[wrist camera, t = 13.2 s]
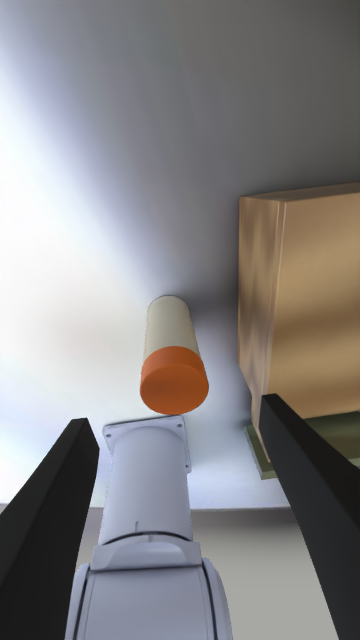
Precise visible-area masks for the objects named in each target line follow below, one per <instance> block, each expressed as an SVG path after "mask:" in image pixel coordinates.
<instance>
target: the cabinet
mask: <svg viewBox="0 0 360 640" xmlns="http://www.w3.org/2000/svg"><path fill="white" fill-rule="evenodd" d="M238 365H239V367H240V370H241V372H242V374H243V376H244V378H245V380H246V383H247V385H248V387H249V389H250V391H251V394H252V396H253V398H254V400H255V402H256V405H257V407H258V409H259V411H260V405H261V396H262V395H266V394H273V393H277V394H278V395H279V396H280V397H281V398H282V399H283V400H284V401H285V402H286V403H287V404H288V405H289V406H290V407H291V408H292V409H293V410H294V411H295V412H296V413H297V414H298V415H299V416H300V417H303V416H310V415H317V414H324V413H331V412H338V411H345V410H352V409H359V408H360V181H358V182H350V183H342V184H334V185H326V186H318V187H310V188H302V189H294V190H286V191H278V192H270V193H262V194H254V195H246V196H240V198H239V279H238Z"/></svg>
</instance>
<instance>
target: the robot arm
mask: <svg viewBox="0 0 360 640" xmlns="http://www.w3.org/2000/svg"><path fill="white" fill-rule="evenodd" d="M258 428H259V431H260V435H261V438H262V441H263V444H264V447H265V450H266V452H267V455H268V457H269V459H270V462H271V464H272V466H273V468H274V471H275V473H276V475H277V477H278V479H279V482H280V484H281V486H282V488H283V490H284V493H285V495H286V497H287V499H288V501H289V504H290V506H291V508H292V510H293V512H294V514H295V517H296V519H297V522H298V524H299V527H300V529H301V532H302V535H303V537H304V540H305V542H306V545H307V548H308V551H309V554H310V556H311V559H312V562H313V565H314V568H315V571H316V573H317V576H318V579H319V582H320V585H321V588H322V591H323V593H324V596H325V599H326V602H327V605H328V608H329V611H330V614H331V617H332V620H333V623H334V626H335V629H336V632H337V635H338V638H339V640H360V469H359V468H357V467H356V466H355V465H354V464H353V463H351V462H350V461H349V460H348V459H347V458H345V457H344V456H343V455H342V454H341V453H339V452H338V451H337V450H336V449H335V448H334V447H333V446H331V445H330V444H329V443H328V442H327V441H326V440H325V439H324V438H322V437H321V436H320V435H319V434H318V433H317V432H316V431H315V430H314V429H313V428H312V427H310V426H309V425H308V424H307V423H306V422H305V421H304V420H303V419H302V418H301V417H300V416H299V415H298V414H297V413H296V412H295V411H294V410H293V409H292V408H291V407H290V406H289V405H288V404H287V403H286V402H285V401H284V400H283V399H282V398H281V397H280V396H279V395H278V394H277V393H273V394H266V395H262V396H261V405H260V415H259V425H258ZM102 433H103V436H104V438H105V441H106V443H107V446H108V448H109V451H110V453H111V455H112V463H111V469H110V475H109V481H108V487H107V493H106V499H105V505H104V511H103V517H102V524H101V529H100V536H99V542H98V546H95V547H94V550H93V556H92V562H91V565H90V563H89V564H82V565H81V566H80V568H79V570H78V571H77V572H76V573H75V568H76V562H77V557H78V552H79V547H80V542H81V538H82V534H83V530H84V526H85V522H86V518H87V513H88V509H89V505H90V501H91V497H92V492H93V488H94V484H95V479H96V474H97V467H98V459H99V450H100V448H99V446H98V443H97V441H96V438H95V436H94V434H93V431H92V429H91V426H90V424H89V421H88V419H87V418H80V419H72V420H71V421H70V422H69V424H68V425H67V427H66V428H65V430H64V431H63V432H62V434H61V435H60V437H59V438H58V439H57V441H56V442H55V444H54V445H53V446H52V448H51V449H50V451H49V452H48V453H47V455H46V456H45V458H44V459H43V460H42V462H41V463H40V464H39V466H38V467H37V468H36V470H35V471H34V472H33V474H32V475H31V476H30V478H29V479H28V480H27V482H26V483H25V484H24V486H23V487H22V488H21V489H20V491H19V492H18V493H17V494H16V496H15V497H14V498H13V499H12V501H11V502H10V503H9V504H8V506H7V507H6V508H5V509H4V511H3V512H2V513H1V514H0V640H233V636H232V628H231V621H230V615H229V609H228V604H227V599H226V595H225V591H224V587H223V584H222V581H221V578H220V576H219V574H218V572H217V571H216V569H215V568H214V566H213V565H212V563H211V561H210V560H209V559H207V558H201V550H200V543H199V542H193V534H192V525H191V514H190V504H189V495H188V485H187V475H186V474H188V473H190V472H191V465H190V459H189V452H188V445H187V438H186V432H185V425H184V418H183V417H182V416H174V417H167V418H160V419H153V420H145V421H138V422H131V423H124V424H117V425H110V426H105V427H104V428H103V430H102Z"/></svg>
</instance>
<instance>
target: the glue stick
mask: <svg viewBox="0 0 360 640" xmlns="http://www.w3.org/2000/svg"><path fill="white" fill-rule="evenodd" d="M208 390H209V384H208V380H207V376H206V372H205V368H204V364H203V361H202V360H201V356H200V352H199V349H198V345H197V341H196V337H195V333H194V329H193V325H192V321H191V317H190V313H189V309H188V307H187V305H186V303H185V302H184V301H183V300H181V299H180V298H178V297H175V296H162V297H159V298H157V299H156V300H154V301H153V302H152V303H151V304H150V306H149V308H148V311H147V321H146V334H145V346H144V359H143V366H142V372H141V383H140V395H141V398H142V400H143V402H144V403H145V404H146V406H148V407H149V408H150V409H151V410H153V411H155V412H158V413H161V414H166V415H179V414H184V413H187V412H190V411H192V410H194V409H195V408H197V407H198V406H199V405H201V404H202V403H203V401H204V400H205V398H206V397H207V394H208Z"/></svg>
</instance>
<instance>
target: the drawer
mask: <svg viewBox="0 0 360 640" xmlns="http://www.w3.org/2000/svg"><path fill="white" fill-rule="evenodd" d="M259 415H260V411H259V409H258V407H257V405H256V402H255V400H254V398H253V396H252V409H251V421H252V423H253V425H246V426H245V435H246V438H247V441H248V444H249V447H250V450H251V452H252V455H253V458H254V461H255V464H256V466H257V469H258V472H259V475H260V478H261V480H265V479H271V478H278V477H277V475H276V473H275V471H274V468H273V466H272V464H271V462H270V459H269V457H268V455H267V452H266V450H265V447H264V444H263V441H262V438H261V435H260V431H259V428H258V425H259ZM301 418H302V419H303V420H304V421H305V422H306V423H307V424H308V425H309V426H310V427H312V428H313V429H314V430H315V431H316V432H317V433H318V434H319V435H320V436H321V437H322V438H324V439H325V440H326V441H327V442H328V443H329V444H330V445H331V446H333V447H334V448H335V449H336V450H337V451H338V452H339V453H341V454H342V455H343V456H344V457H345V458H347V459H348V460H349V461H350V462H351V463H353V464H354V465H355V466H359V465H360V408H359V409H352V410H345V411H338V412H331V413H324V414H317V415H310V416H303V417H301Z"/></svg>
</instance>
